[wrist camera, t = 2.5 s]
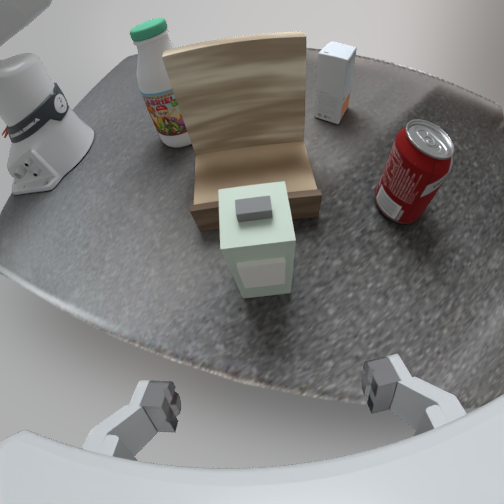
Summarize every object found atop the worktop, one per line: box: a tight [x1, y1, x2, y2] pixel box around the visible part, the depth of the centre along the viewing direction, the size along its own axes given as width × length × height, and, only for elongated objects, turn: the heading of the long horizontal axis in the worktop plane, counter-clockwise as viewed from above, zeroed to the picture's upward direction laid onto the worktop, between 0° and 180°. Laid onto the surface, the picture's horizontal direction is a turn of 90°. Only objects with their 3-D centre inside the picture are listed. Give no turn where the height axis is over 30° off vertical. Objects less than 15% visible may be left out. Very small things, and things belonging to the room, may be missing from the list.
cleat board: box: [162, 32, 322, 231], centre depth 28 cm, size 11×14×18 cm
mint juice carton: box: [218, 181, 296, 298], centre depth 25 cm, size 5×5×13 cm
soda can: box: [375, 119, 454, 224], centre depth 27 cm, size 7×7×12 cm
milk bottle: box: [130, 18, 192, 148], centre depth 33 cm, size 8×8×20 cm
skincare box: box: [314, 41, 356, 124], centre depth 36 cm, size 6×4×12 cm
